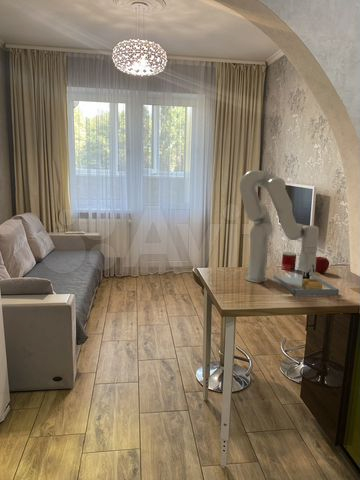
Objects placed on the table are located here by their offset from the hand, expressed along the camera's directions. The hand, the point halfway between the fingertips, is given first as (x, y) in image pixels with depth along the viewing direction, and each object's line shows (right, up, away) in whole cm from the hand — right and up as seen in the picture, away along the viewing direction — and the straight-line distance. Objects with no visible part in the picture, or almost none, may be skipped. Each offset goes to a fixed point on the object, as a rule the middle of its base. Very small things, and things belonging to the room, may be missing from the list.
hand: (305, 283), depth 191 cm
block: (+1, -2, -5) cm, 6 cm away
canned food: (0, +4, +31) cm, 32 cm away
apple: (+19, +3, +29) cm, 35 cm away
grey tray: (0, -2, +2) cm, 2 cm away
